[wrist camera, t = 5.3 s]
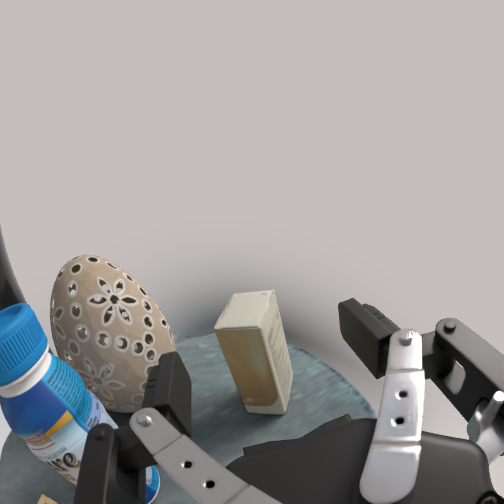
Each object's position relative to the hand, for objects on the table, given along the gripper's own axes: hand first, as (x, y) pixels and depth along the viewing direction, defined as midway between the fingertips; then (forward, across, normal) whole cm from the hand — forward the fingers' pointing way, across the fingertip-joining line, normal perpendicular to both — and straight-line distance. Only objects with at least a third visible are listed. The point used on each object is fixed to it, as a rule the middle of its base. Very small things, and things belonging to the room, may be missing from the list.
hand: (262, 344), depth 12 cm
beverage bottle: (+2, +17, +16) cm, 23 cm away
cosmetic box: (+11, 0, +16) cm, 20 cm away
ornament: (+16, +16, +16) cm, 28 cm away
